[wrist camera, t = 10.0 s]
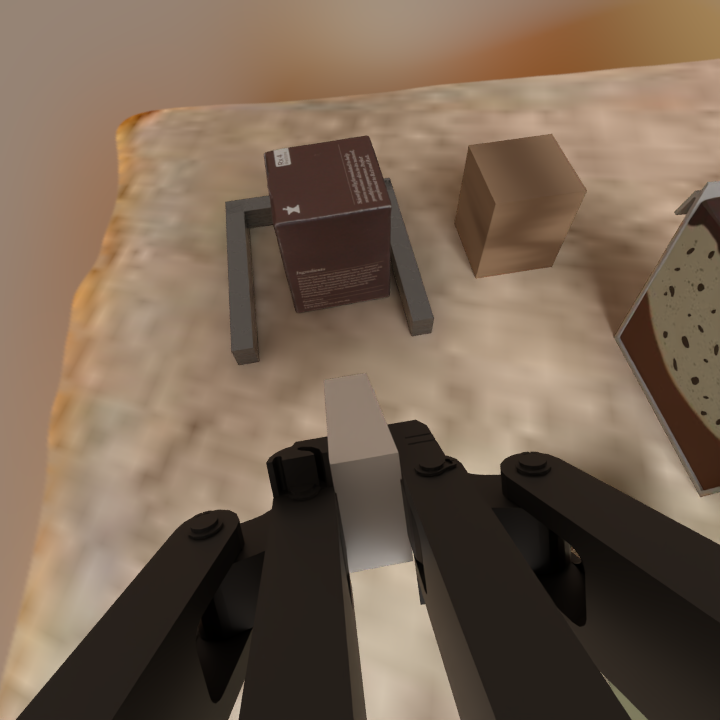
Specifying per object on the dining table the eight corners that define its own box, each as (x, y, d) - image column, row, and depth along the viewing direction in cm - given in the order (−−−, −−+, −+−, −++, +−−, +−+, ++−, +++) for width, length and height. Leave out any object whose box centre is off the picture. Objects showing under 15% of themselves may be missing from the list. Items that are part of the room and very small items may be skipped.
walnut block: (524, 213, 33) (551, 133, 28) (551, 267, 30) (586, 190, 25) (454, 223, 33) (468, 145, 27) (475, 279, 30) (495, 204, 25)
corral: (389, 195, 34) (389, 177, 33) (431, 332, 28) (433, 317, 27) (231, 218, 34) (225, 201, 32) (238, 365, 27) (231, 351, 26)
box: (391, 300, 29) (394, 207, 23) (295, 316, 29) (271, 226, 23) (372, 231, 33) (370, 132, 26) (285, 245, 32) (262, 148, 26)
